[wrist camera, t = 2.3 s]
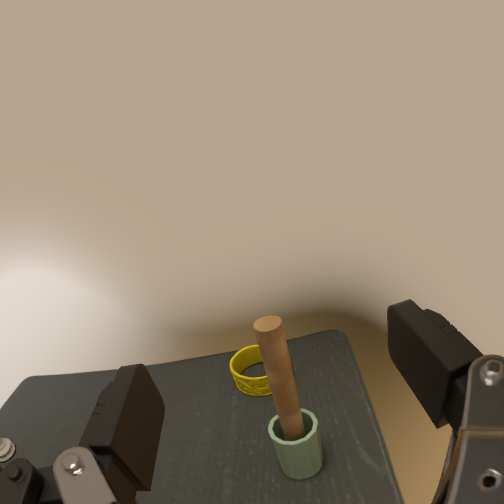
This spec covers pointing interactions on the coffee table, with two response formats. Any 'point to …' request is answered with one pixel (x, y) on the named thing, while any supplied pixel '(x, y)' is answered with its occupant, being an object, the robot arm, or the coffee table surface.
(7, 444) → the chess piece
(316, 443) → the holder
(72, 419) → the coffee table surface
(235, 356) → the bracelet
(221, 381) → the coffee table surface
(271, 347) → the stick
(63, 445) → the coffee table surface
